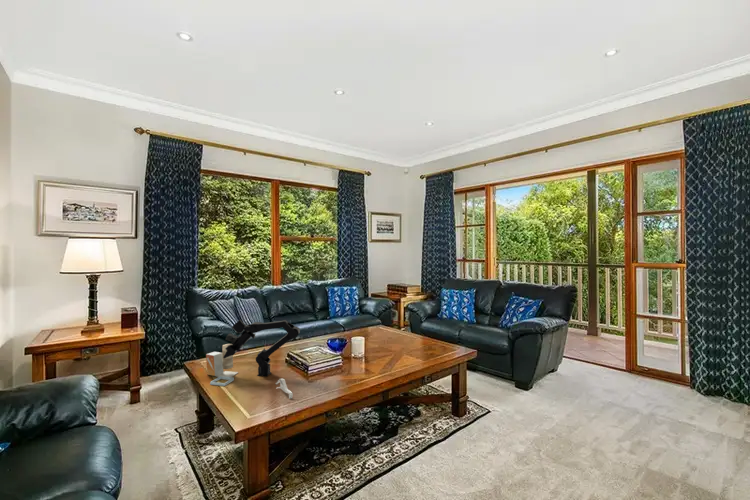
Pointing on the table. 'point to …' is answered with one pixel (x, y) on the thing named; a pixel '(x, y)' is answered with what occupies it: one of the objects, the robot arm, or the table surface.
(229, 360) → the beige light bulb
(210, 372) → the small box
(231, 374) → the mat
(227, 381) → the light blue square frame
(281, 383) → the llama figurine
